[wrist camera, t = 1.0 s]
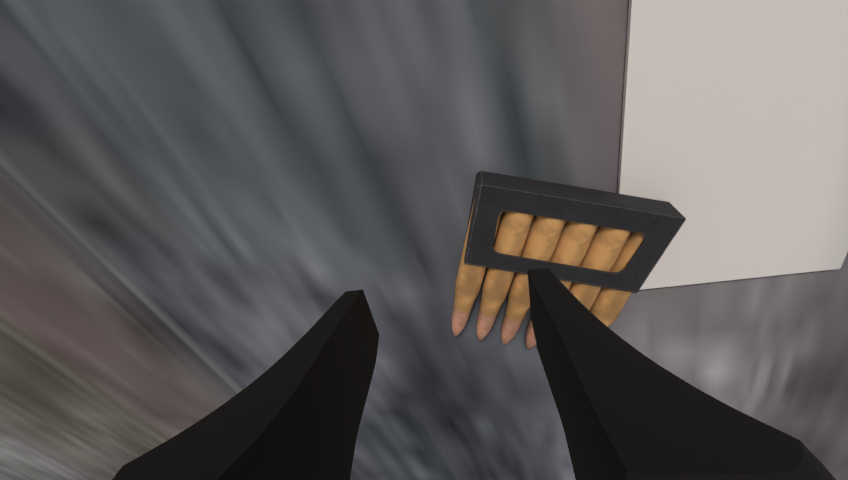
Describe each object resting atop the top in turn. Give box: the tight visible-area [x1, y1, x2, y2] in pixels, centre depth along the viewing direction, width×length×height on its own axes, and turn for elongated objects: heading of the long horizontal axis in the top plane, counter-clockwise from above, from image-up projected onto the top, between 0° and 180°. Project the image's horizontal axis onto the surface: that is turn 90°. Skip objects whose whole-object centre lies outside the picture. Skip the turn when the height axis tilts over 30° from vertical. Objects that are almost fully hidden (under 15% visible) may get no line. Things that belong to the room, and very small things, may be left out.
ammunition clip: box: [452, 171, 686, 349], centre depth 22 cm, size 11×2×12 cm
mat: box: [617, 0, 848, 290], centre depth 18 cm, size 12×18×1 cm
